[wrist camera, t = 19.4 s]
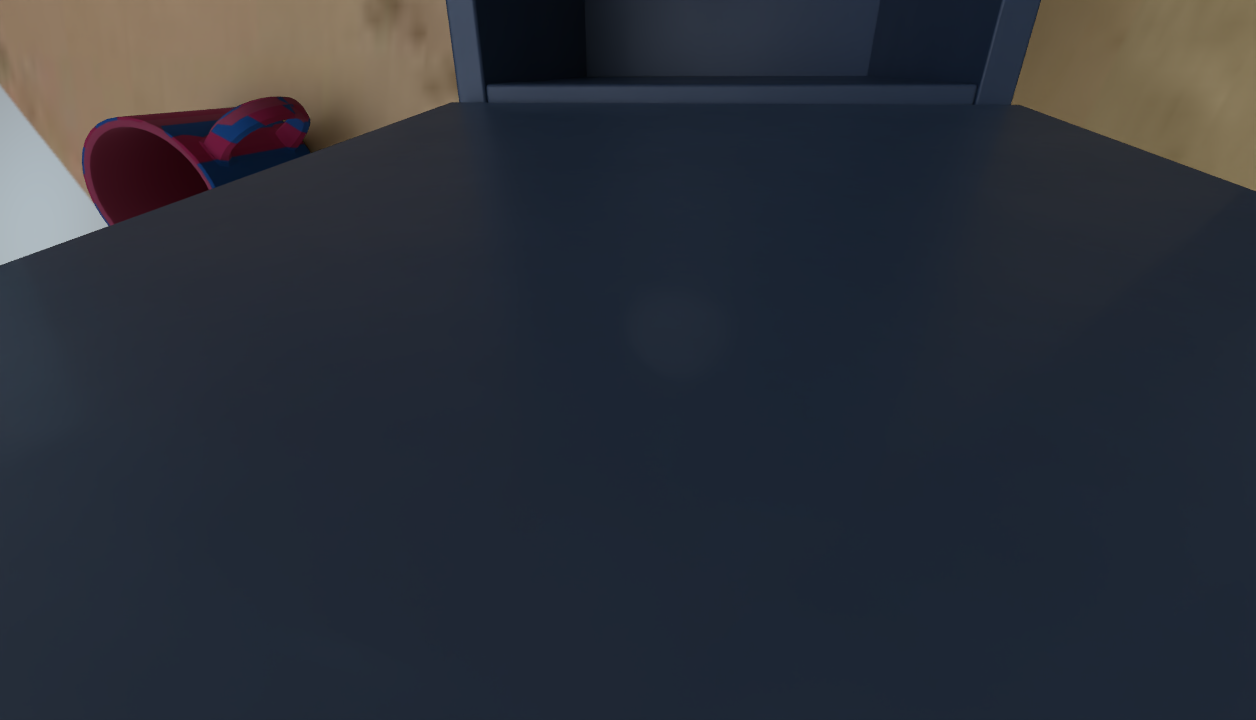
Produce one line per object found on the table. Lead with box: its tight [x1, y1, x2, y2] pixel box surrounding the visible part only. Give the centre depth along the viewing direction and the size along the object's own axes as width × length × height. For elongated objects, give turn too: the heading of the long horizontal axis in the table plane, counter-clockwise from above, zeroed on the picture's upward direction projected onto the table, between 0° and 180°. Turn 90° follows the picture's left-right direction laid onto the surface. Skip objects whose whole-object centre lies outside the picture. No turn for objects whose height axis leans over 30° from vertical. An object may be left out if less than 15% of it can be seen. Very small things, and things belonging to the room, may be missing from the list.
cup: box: [82, 97, 310, 226], centre depth 27 cm, size 7×10×7 cm
